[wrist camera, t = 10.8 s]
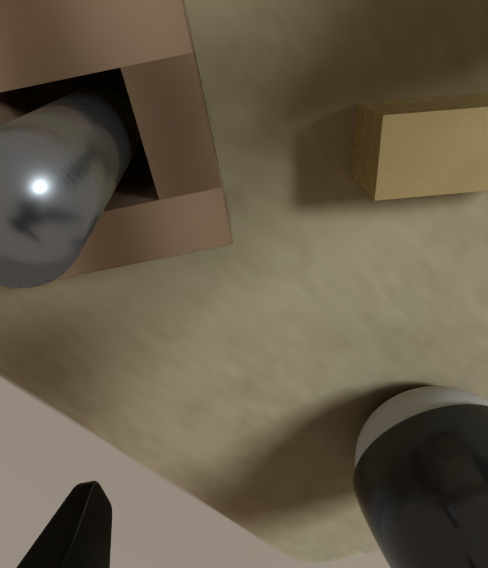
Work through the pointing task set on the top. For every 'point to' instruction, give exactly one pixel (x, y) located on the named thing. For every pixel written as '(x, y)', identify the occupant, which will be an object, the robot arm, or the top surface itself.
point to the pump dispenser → (426, 478)
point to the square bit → (422, 146)
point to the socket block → (147, 110)
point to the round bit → (59, 180)
